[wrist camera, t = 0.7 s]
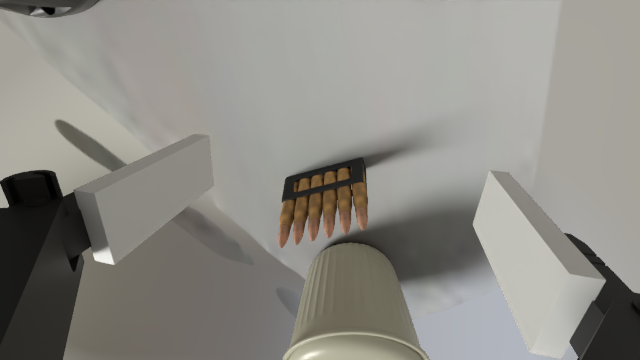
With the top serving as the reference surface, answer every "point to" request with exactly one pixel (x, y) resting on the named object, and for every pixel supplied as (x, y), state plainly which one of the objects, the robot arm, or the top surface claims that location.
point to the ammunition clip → (324, 200)
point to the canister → (353, 310)
